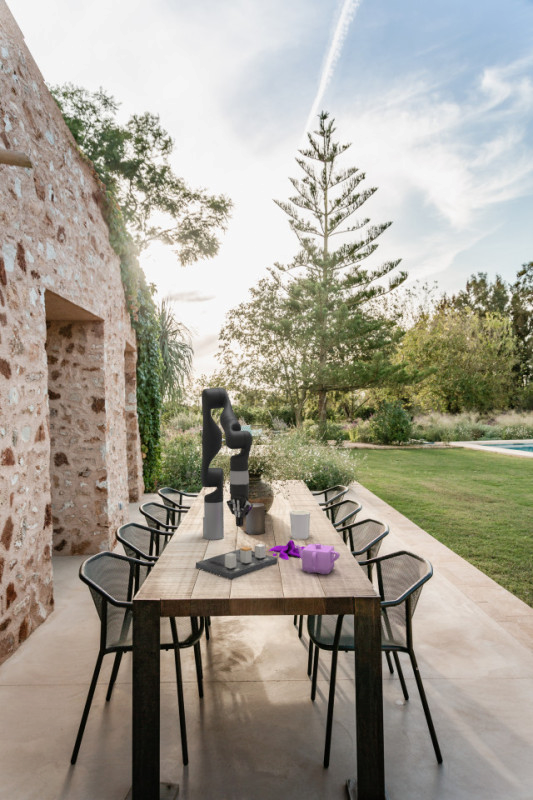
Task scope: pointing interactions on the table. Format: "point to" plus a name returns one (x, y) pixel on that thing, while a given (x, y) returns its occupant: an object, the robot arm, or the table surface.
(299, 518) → the candle holder
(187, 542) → the table surface
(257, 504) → the pillar candle
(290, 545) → the cloth
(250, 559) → the block
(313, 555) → the teapot
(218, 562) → the panel
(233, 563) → the breaker
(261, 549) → the block
